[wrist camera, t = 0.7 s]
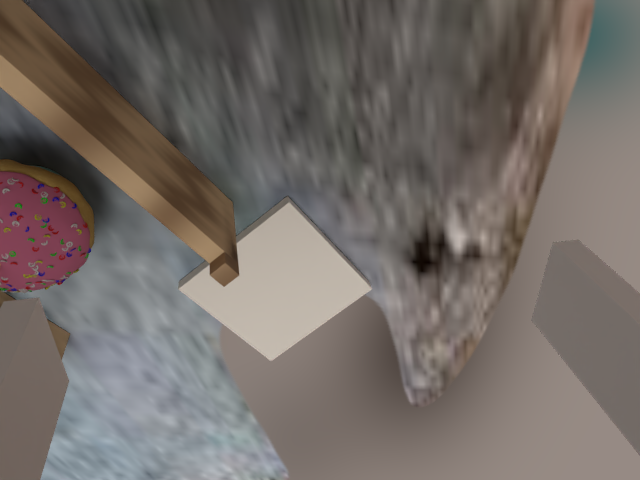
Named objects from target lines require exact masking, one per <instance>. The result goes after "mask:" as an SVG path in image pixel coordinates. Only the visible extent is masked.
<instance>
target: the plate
mask: <svg viewBox="0 0 640 480" xmlns="http://www.w3.org/2000/svg"><path fill="white" fill-rule="evenodd" d="M236 243H237V254H238V265H239V276H238V277H237V278H235V279H234V280H233V281H231V282H230V283H229V284H227V285H226V286H225V287H223V286H222V285H221V284H220V283H218V282H217V281H216V280H215V279H214V278H212V277H211V276H210V264H209V263H208V262H207V261H204V262H203V263H202V264H200V265H199V266H198V267H197V268H195V269H194V270H193V271H192V272H190V273H189V274H188V275H187V276H185V277H184V278H183V279H181V280H180V281H179V286H178V289H179V290H180V291H181V292H182V293H184V294H185V295H186V296H188V297H189V298H190V299H191V300H193V301H194V302H195V303H197V304H198V305H199V306H200V307H202V308H203V309H204V310H206V311H207V312H208V313H210V314H211V315H212V316H213V317H215V318H216V319H217V320H219V321H220V322H221V323H222V324H224V325H225V326H226V327H228V328H229V329H230V330H232V331H233V332H234V333H236V334H237V335H238V336H239V337H241V338H242V339H243V340H244V341H246V342H247V343H248V344H250V345H251V346H252V347H253V348H255V349H256V350H257V351H259V352H260V353H261V354H263V355H264V356H265V357H266V358H268V359H269V360H270V361H272V360H273V359H275V358H276V357H277V356H279V355H280V354H281V353H283V352H284V351H286V350H287V349H289V348H290V347H291V346H293V345H294V344H296V343H297V342H298V341H300V340H301V339H303V338H304V337H305V336H307V335H308V334H310V333H311V332H312V331H314V330H315V329H316V328H318V327H319V326H321V325H322V324H324V323H325V322H326V321H328V320H329V319H331V318H332V317H333V316H335V315H336V314H338V313H339V312H340V311H342V310H343V309H345V308H346V307H347V306H349V305H350V304H352V303H353V302H355V301H356V300H357V299H359V298H360V297H362V296H363V295H364V294H366V293H367V292H369V291H370V290H371V289H372V287H371V285H370V283H369V281H368V280H367V279H366V278H365V277H364V276H363V275H362V274H361V273H360V272H359V271H358V270H357V269H356V267H355V266H354V265H353V264H352V263H351V262H350V261H349V260H348V259H347V258H346V257H345V256H344V255H343V254H342V253H341V252H340V251H339V250H338V249H337V247H336V246H335V245H334V244H333V243H332V242H331V241H330V240H329V239H328V238H327V237H326V236H325V235H324V234H323V233H322V232H321V231H320V230H319V229H318V227H317V226H316V225H315V224H314V223H313V222H312V221H311V220H310V219H309V218H308V217H307V216H306V215H305V214H304V213H303V212H302V211H301V210H300V209H299V207H298V206H297V205H296V204H295V203H294V202H293V201H292V200H291V199H290V198H289V197H288V196H287V197H285V198H284V199H283V200H282V201H280V202H279V203H278V204H277V205H275V206H274V207H273V208H271V209H270V210H269V211H268V212H266V213H265V214H264V215H263V216H261V217H260V218H259V219H258V220H256V221H255V222H254V223H252V224H251V225H250V226H249V227H247V228H246V229H245V230H244V231H242V232H241V233H240V234H239V235H237V236H236Z"/></svg>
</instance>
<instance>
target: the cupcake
mask: <svg viewBox="0 0 640 480" xmlns="http://www.w3.org/2000/svg"><path fill="white" fill-rule="evenodd" d="M93 244H94V214H93V210H92V208H91V206H90V205H89V204H88V202H87V201H86V200H85V199H84V197H83V196H82V194H81V193H80V191H79V190H78V188H77V187H76V186H75V185H74V184H73V183H72V182H70V181H69V180H67V179H66V178H64V177H62V176H61V175H60V174H58V173H56V172H55V171H53V170H50V169H48V168H45V167H41V166H33V165H24V164H20V163H18V162H16V161H13V160H10V159H1V160H0V290H1V291H2V292H7V291H10V292H11V293H13V292H22V293H26V292H27V291H30V292H32V291H31V290H38V289H42V288H45V289H48V288H49V287H50V286H53V285H54V284H56V283H57V284H58V285H60V284H62V283H63V281H65V280H66V279H67V278H69V276H70V275H71V274H73V273H76V272H78V271H79V268H80V267H81V266H82V265H83V264H84V263H85V262H86V260H87V258H88V255H89V253H90V252H91V248H92V246H93ZM60 282H61V283H60ZM4 290H5V291H4ZM24 291H25V292H24Z"/></svg>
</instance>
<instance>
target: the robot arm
mask: <svg viewBox="0 0 640 480" xmlns="http://www.w3.org/2000/svg"><path fill="white" fill-rule="evenodd" d="M532 321H533V323H534V324H535V325H536V327H537V328H538V329H539V330H540V332H541V333H542V334H543V335H544V337H545V338H546V339H547V340H548V341H549V343H550V344H551V345H552V346H553V348H554V349H555V350H556V351H557V353H558V354H559V355H560V356H561V358H562V359H563V360H564V361H565V363H566V364H567V365H568V366H569V367H570V369H571V370H572V371H573V373H574V374H575V375H576V376H577V378H578V379H579V380H580V381H581V383H582V384H583V385H584V386H585V388H586V389H587V390H588V391H589V393H590V394H591V395H592V396H593V398H594V399H595V400H596V401H597V403H598V404H599V405H600V406H601V408H602V409H603V410H604V411H605V412H606V414H607V415H608V416H609V418H610V419H611V420H612V421H613V423H614V424H615V425H616V426H617V428H618V429H619V430H620V431H621V433H622V434H623V435H624V436H625V438H626V439H627V440H628V441H629V443H630V444H631V445H632V446H633V448H634V449H635V450H636V451H637V453H638V454H639V455H640V293H639V292H638V291H637V290H635V289H634V288H633V287H632V286H631V285H630V284H628V283H627V282H626V281H625V280H624V279H623V278H621V277H620V276H619V275H618V274H617V273H616V272H615V271H614V270H613V269H611V268H610V267H609V266H608V265H607V264H606V263H605V262H603V261H602V260H601V259H600V258H599V257H598V256H596V255H595V254H594V253H593V252H592V251H591V250H590V249H589V248H587V247H586V246H585V245H584V244H583V243H582V242H581V241H579V240H571V241H561V242H553V244H552V247H551V251H550V255H549V258H548V262H547V265H546V269H545V273H544V276H543V280H542V284H541V287H540V291H539V295H538V298H537V302H536V305H535V309H534V313H533V316H532ZM68 383H69V379H68V377H67V374H66V371H65V368H64V366H63V363H62V360H61V357H60V354H59V352H58V349H57V346H56V343H55V341H54V338H53V335H52V332H51V330H50V327H49V324H48V321H47V318H46V316H45V313H44V310H43V307H42V305H41V302H40V299H39V298H31V299H22V300H12V301H4V302H3V304H2V306H1V308H0V480H40V478H41V475H42V472H43V468H44V465H45V461H46V458H47V455H48V451H49V448H50V444H51V441H52V438H53V434H54V431H55V427H56V424H57V420H58V417H59V414H60V410H61V407H62V403H63V400H64V397H65V393H66V390H67V386H68Z"/></svg>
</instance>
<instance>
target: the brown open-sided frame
mask: <svg viewBox="0 0 640 480" xmlns="http://www.w3.org/2000/svg"><path fill="white" fill-rule="evenodd" d="M0 87H1V88H2V89H3V90H4V91H6V92H7V93H8V94H9V95H10V96H12V97H13V98H14V99H15V100H16V101H18V102H19V103H20V104H21V105H22V106H23V107H25V108H26V109H27V110H28V111H29V112H31V113H32V114H33V115H34V116H35V117H36V118H38V119H39V120H40V121H41V122H42V123H44V124H45V125H46V126H47V127H48V128H50V129H51V130H52V131H53V132H54V133H55V134H57V135H58V136H59V137H60V138H61V139H63V140H64V141H65V142H66V143H67V144H68V145H70V146H71V147H72V148H73V149H74V150H76V151H77V152H78V153H79V154H80V155H81V156H83V157H84V158H85V159H86V160H87V161H89V162H90V163H91V164H92V165H93V166H95V167H96V168H97V169H98V170H99V171H100V172H102V173H103V174H104V175H105V176H106V177H108V178H109V179H110V180H111V181H112V182H113V183H115V184H116V185H117V186H118V187H119V188H121V189H122V190H123V191H124V192H125V193H127V194H128V195H129V196H130V197H131V198H132V199H134V200H135V201H136V202H137V203H138V204H140V205H141V206H142V207H143V208H144V209H145V210H147V211H148V212H149V213H150V214H151V215H153V216H154V217H155V218H156V219H157V220H159V221H160V222H161V223H162V224H163V225H164V226H166V227H167V228H168V229H169V230H170V231H172V232H173V233H174V234H175V235H176V236H177V237H179V238H180V239H181V240H182V241H183V242H185V243H186V244H187V245H188V246H189V247H190V248H192V249H193V250H194V251H195V252H196V253H198V254H199V255H200V256H201V257H202V258H204V259H205V260H206V261H207V262H208V263H209V264H210V276H211V277H212V278H214V279H215V280H216V281H217V282H218V283H220V284H221V285H222V286H223V287H225V286H226V285H227V284H229V283H230V282H231V281H233V280H234V279H235V278H237V277H238V276H239V265H238V254H237V243H236V232H235V222H234V211H233V202H232V201H231V200H230V199H229V198H227V197H226V196H225V195H224V194H223V193H222V192H221V191H220V190H219V189H218V188H217V187H216V186H215V185H214V184H213V183H212V182H211V181H210V180H209V179H208V178H207V177H206V176H205V175H204V174H202V173H201V172H200V171H199V170H198V169H197V168H196V167H195V166H194V165H193V164H192V163H191V162H190V161H189V160H188V159H187V158H186V157H185V156H184V155H183V154H182V153H181V152H180V151H179V150H178V149H176V148H175V147H174V146H173V145H172V144H171V143H170V142H169V141H168V140H167V139H166V138H165V137H164V136H163V135H162V134H161V133H160V132H159V131H158V130H157V129H156V128H155V127H154V126H153V125H151V124H150V123H149V122H148V121H147V120H146V119H145V118H144V117H143V116H142V115H141V114H140V113H139V112H138V111H137V110H136V109H135V108H134V107H133V106H132V105H131V104H130V103H129V102H128V101H126V100H125V99H124V98H123V97H122V96H121V95H120V94H119V93H118V92H117V91H116V90H115V89H114V88H113V87H112V86H111V85H110V84H109V83H108V82H107V81H106V80H105V79H104V78H103V77H101V76H100V75H99V74H98V73H97V72H96V71H95V70H94V69H93V68H92V67H91V66H90V65H89V64H88V63H87V62H86V61H85V60H84V59H83V58H82V57H81V56H80V55H79V54H78V53H76V52H75V51H74V50H73V49H72V48H71V47H70V46H69V45H68V44H67V43H66V42H65V41H64V40H63V39H62V38H61V37H60V36H59V35H58V34H57V33H56V32H55V31H54V30H53V29H51V28H50V27H49V26H48V25H47V24H46V23H45V22H44V21H43V20H42V19H41V18H40V17H39V16H38V15H37V14H36V13H35V12H34V11H33V10H32V9H31V8H30V7H29V6H28V5H26V4H25V3H24V2H23V1H22V0H0ZM12 300H15V299H14V298H12V297H10V296H9V295H7V294H6V293H4V292H2V291H1V290H0V308H1V306H2V304H3V302H4V301H12ZM47 321H48V324H49V327H50V330H51V332H52V335H53V338H54V341H55V343H56V346H57V349H58V352H59V354H60V357H61V360H62V357H63V354H64V351H65V348H66V345H67V342H68V339H69V336H70V333H68V332H66V331H65V330H63V329H62V328H60V327H58V326H57V325H55V324H54V323H52V322H50V321H49V320H47Z"/></svg>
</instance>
